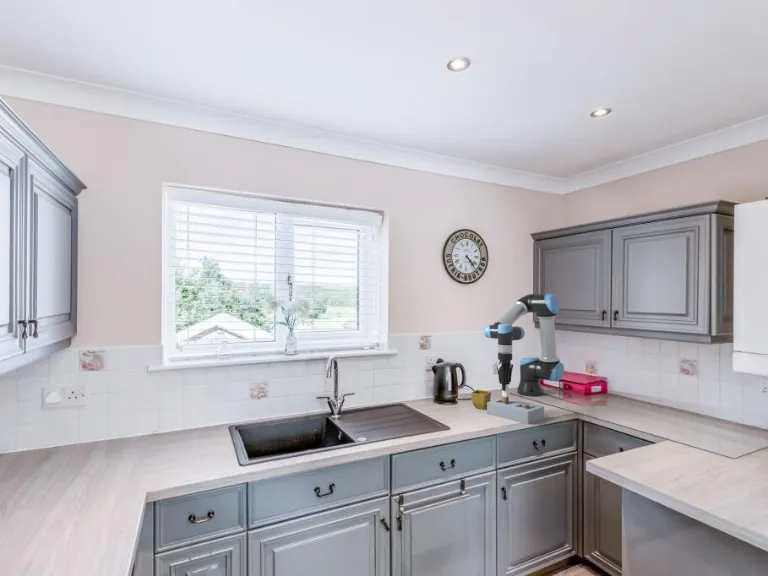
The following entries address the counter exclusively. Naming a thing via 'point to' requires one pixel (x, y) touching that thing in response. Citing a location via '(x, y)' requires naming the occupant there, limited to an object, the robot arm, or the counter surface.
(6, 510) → the counter surface
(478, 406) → the flower pot
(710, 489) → the counter surface
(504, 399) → the peg brass cap
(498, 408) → the socket block
